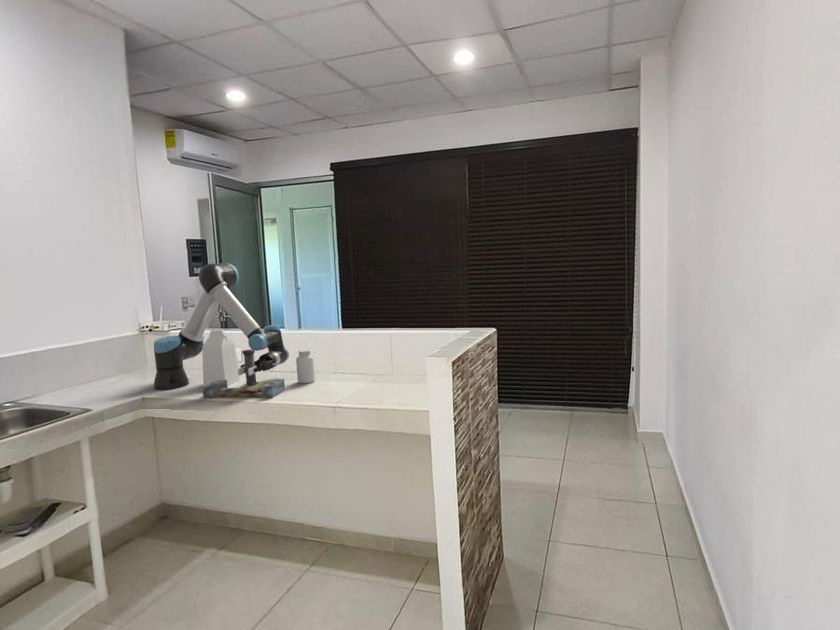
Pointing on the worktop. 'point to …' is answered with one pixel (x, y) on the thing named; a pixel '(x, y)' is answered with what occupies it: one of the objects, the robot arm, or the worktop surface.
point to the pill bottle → (305, 367)
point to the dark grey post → (250, 379)
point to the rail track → (222, 390)
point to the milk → (219, 359)
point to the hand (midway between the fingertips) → (243, 372)
